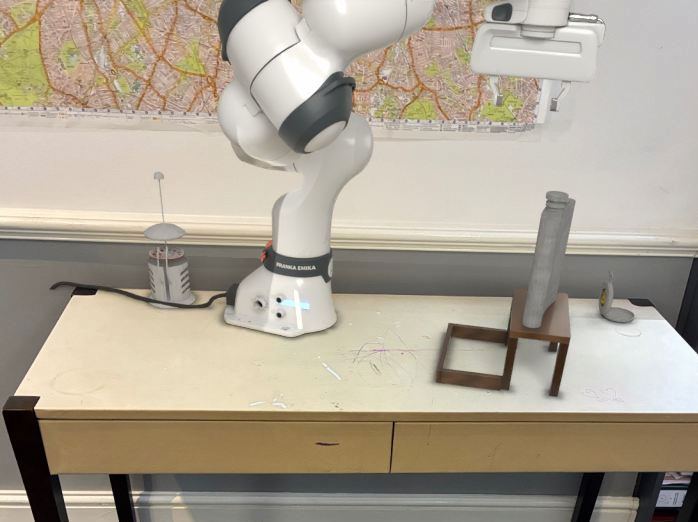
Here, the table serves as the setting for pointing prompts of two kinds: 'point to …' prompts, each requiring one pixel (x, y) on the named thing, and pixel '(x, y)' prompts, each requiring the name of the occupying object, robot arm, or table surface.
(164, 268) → the french press
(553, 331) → the shelf stand
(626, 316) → the pocket watch
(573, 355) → the table surface
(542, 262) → the hip flask
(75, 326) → the table surface
